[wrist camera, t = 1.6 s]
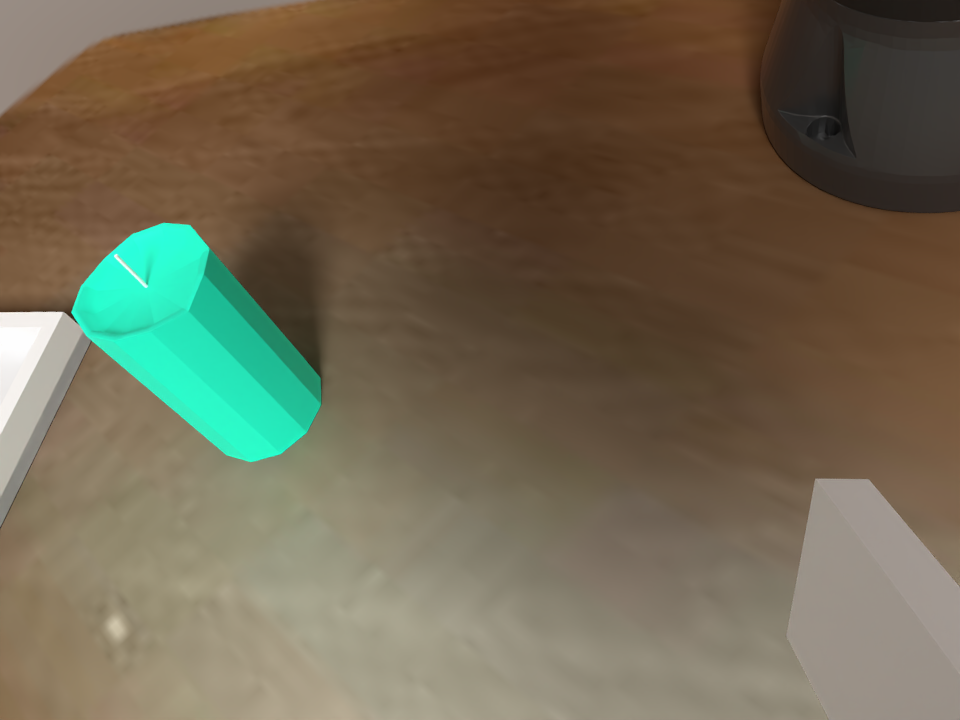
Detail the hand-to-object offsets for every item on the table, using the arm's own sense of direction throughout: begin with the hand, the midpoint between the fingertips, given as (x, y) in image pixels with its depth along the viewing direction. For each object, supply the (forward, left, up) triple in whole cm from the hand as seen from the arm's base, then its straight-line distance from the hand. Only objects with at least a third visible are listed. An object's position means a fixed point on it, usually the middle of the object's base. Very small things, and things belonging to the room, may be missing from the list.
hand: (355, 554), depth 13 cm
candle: (-14, -19, -22) cm, 33 cm away
